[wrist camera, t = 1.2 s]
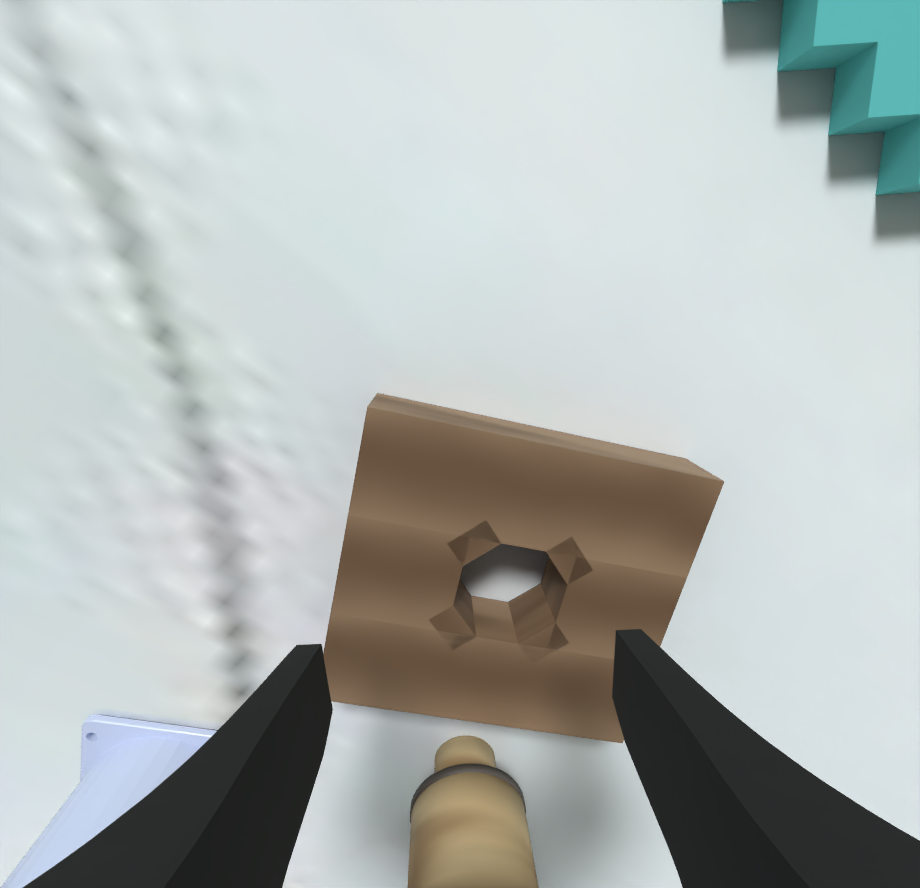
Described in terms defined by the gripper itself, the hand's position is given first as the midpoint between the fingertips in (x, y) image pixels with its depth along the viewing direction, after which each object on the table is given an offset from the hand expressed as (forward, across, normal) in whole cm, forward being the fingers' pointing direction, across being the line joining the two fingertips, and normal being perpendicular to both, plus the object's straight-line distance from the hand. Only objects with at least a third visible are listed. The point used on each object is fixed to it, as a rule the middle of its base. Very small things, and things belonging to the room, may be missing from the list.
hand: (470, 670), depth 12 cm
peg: (+10, +1, +15) cm, 18 cm away
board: (+10, -2, +3) cm, 11 cm away
